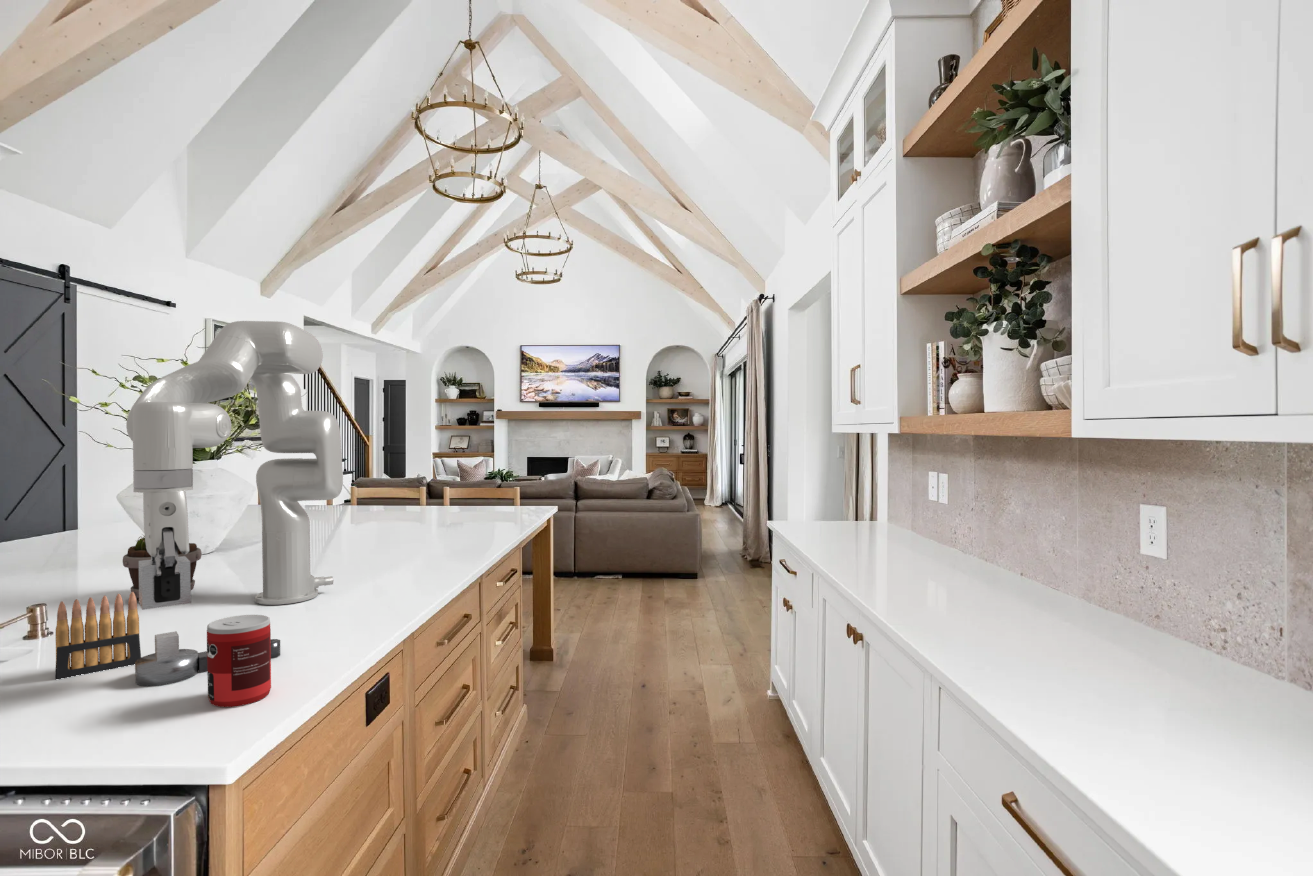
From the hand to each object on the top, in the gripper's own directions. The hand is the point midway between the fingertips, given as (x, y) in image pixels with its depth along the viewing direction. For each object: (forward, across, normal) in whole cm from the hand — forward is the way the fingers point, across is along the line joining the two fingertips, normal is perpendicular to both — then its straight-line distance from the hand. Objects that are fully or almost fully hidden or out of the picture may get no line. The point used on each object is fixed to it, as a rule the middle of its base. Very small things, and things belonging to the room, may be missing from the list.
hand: (164, 596), depth 107 cm
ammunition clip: (+13, +11, +8) cm, 19 cm away
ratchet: (+13, 0, -6) cm, 14 cm away
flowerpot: (+12, +61, -5) cm, 63 cm away
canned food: (+13, -17, -7) cm, 22 cm away
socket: (+1, 0, 0) cm, 1 cm away
